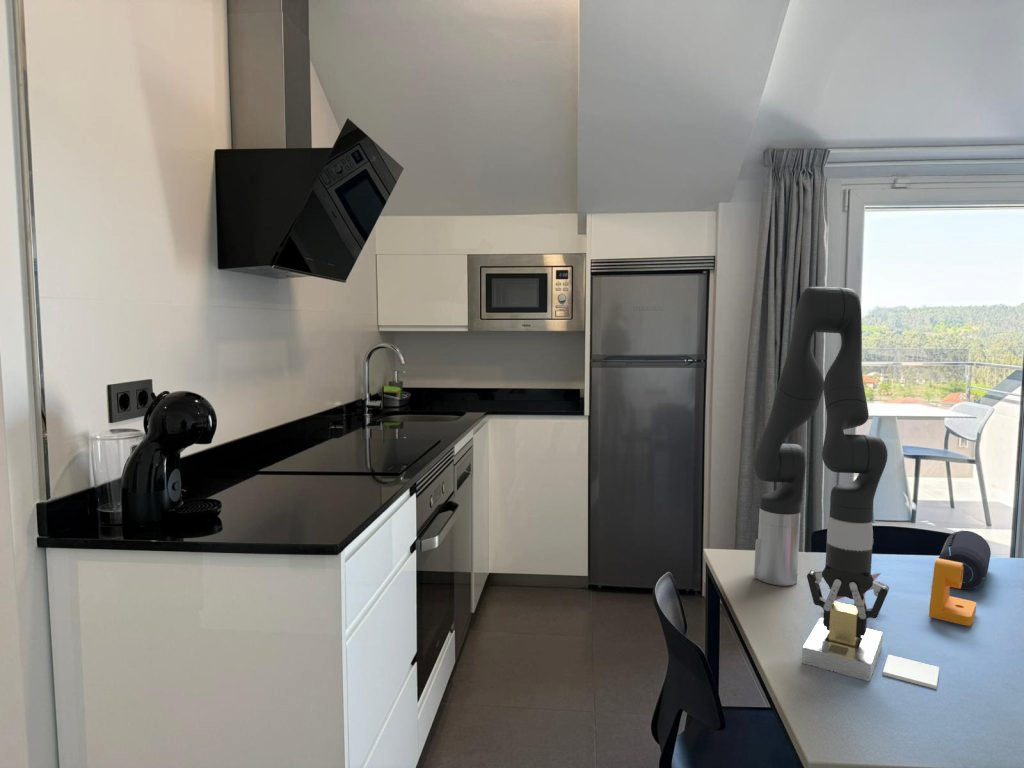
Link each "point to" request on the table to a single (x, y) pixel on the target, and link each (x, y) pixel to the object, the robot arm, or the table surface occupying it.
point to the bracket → (941, 601)
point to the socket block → (842, 653)
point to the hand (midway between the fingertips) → (844, 632)
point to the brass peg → (843, 625)
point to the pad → (911, 671)
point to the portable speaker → (968, 556)
